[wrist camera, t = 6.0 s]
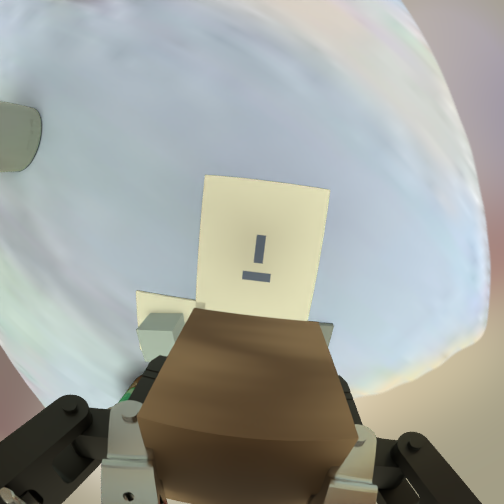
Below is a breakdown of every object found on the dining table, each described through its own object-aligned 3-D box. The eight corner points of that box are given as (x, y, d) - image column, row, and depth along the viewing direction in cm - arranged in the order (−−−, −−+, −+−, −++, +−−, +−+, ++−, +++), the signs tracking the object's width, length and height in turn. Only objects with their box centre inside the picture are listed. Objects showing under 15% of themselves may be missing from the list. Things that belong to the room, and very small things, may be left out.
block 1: (157, 342, 30) (145, 361, 26) (150, 312, 29) (136, 329, 25) (188, 344, 30) (179, 364, 26) (183, 313, 29) (172, 331, 25)
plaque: (141, 348, 31) (140, 349, 30) (137, 290, 29) (136, 291, 28) (203, 361, 31) (202, 362, 30) (205, 301, 29) (204, 302, 28)
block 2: (193, 396, 12) (162, 496, 6) (194, 307, 11) (136, 416, 5) (295, 407, 12) (305, 511, 6) (318, 321, 11) (358, 437, 5)
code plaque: (195, 324, 29) (194, 325, 29) (205, 174, 26) (205, 174, 25) (303, 337, 29) (303, 338, 29) (329, 189, 25) (330, 189, 25)
